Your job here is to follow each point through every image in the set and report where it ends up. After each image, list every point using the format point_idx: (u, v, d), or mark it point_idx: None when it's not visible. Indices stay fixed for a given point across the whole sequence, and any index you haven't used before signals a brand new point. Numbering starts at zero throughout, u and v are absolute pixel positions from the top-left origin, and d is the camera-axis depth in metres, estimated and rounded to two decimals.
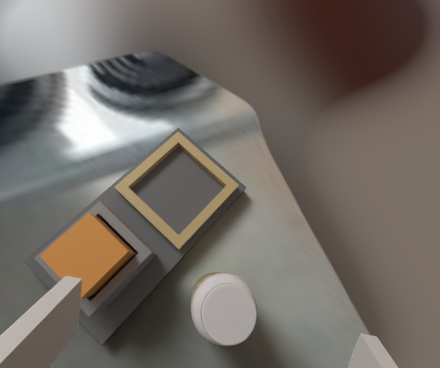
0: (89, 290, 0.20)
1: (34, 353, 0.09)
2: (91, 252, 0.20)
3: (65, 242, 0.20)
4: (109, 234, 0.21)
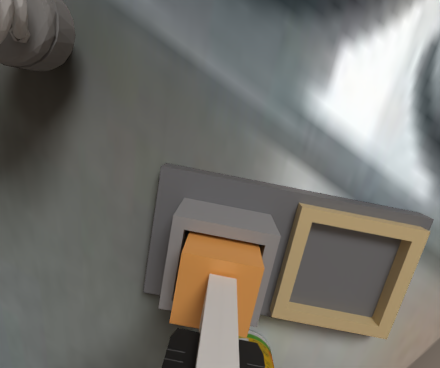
0: None
1: None
2: None
3: (213, 268, 0.14)
4: (252, 307, 0.15)
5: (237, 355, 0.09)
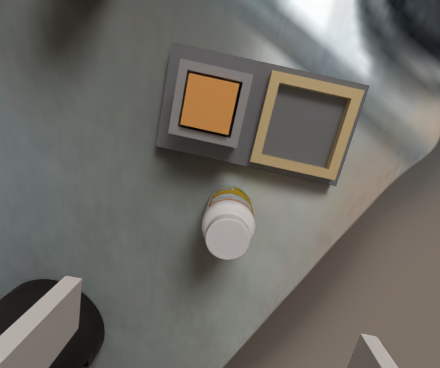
0: (188, 125, 0.24)
1: (34, 353, 0.09)
2: (212, 108, 0.24)
3: (208, 84, 0.23)
4: (231, 112, 0.24)
5: None
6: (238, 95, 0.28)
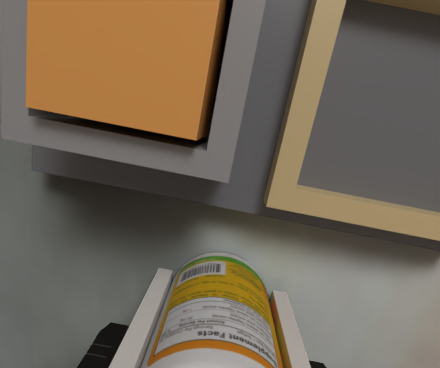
0: None
1: None
2: (133, 45, 0.06)
3: None
4: (206, 56, 0.06)
5: None
6: None
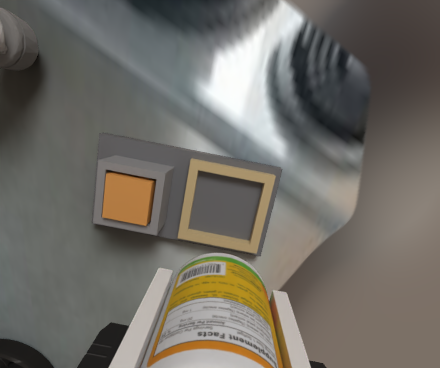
0: None
1: None
2: (129, 204, 0.26)
3: (123, 183, 0.26)
4: (147, 206, 0.26)
5: None
6: None
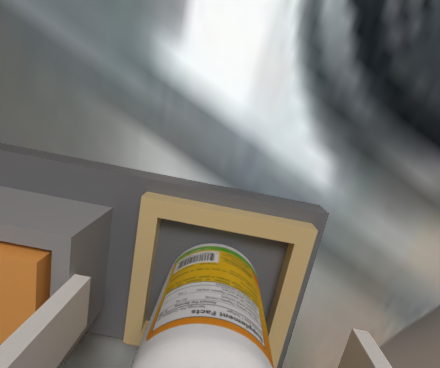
0: None
1: (46, 349, 0.09)
2: None
3: None
4: (33, 312, 0.11)
5: None
6: None
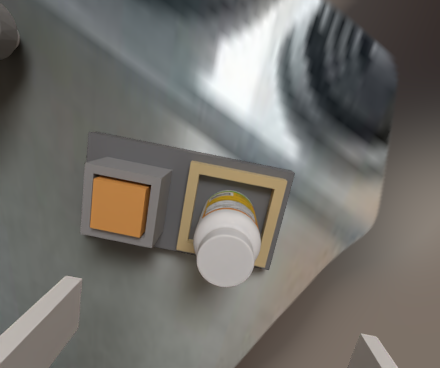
0: None
1: (34, 353, 0.09)
2: (121, 213, 0.23)
3: (114, 189, 0.22)
4: (141, 216, 0.23)
5: None
6: None
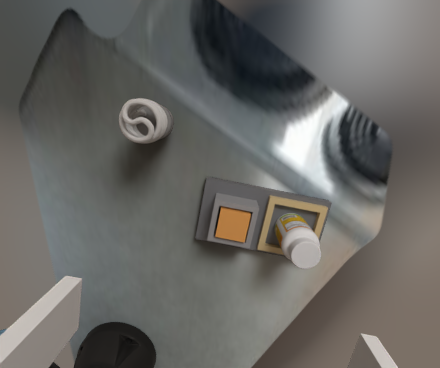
0: None
1: (34, 353, 0.09)
2: (234, 228, 0.39)
3: (232, 214, 0.39)
4: (246, 230, 0.39)
5: None
6: None
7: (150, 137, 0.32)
